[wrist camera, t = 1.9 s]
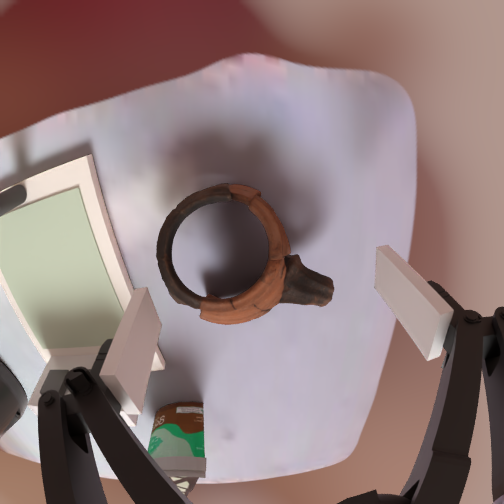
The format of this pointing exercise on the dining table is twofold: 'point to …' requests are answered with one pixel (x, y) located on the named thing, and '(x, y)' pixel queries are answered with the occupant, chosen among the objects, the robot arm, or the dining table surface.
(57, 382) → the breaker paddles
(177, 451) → the food container
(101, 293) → the stand
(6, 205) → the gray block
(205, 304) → the pottery mug
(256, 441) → the dining table surface
